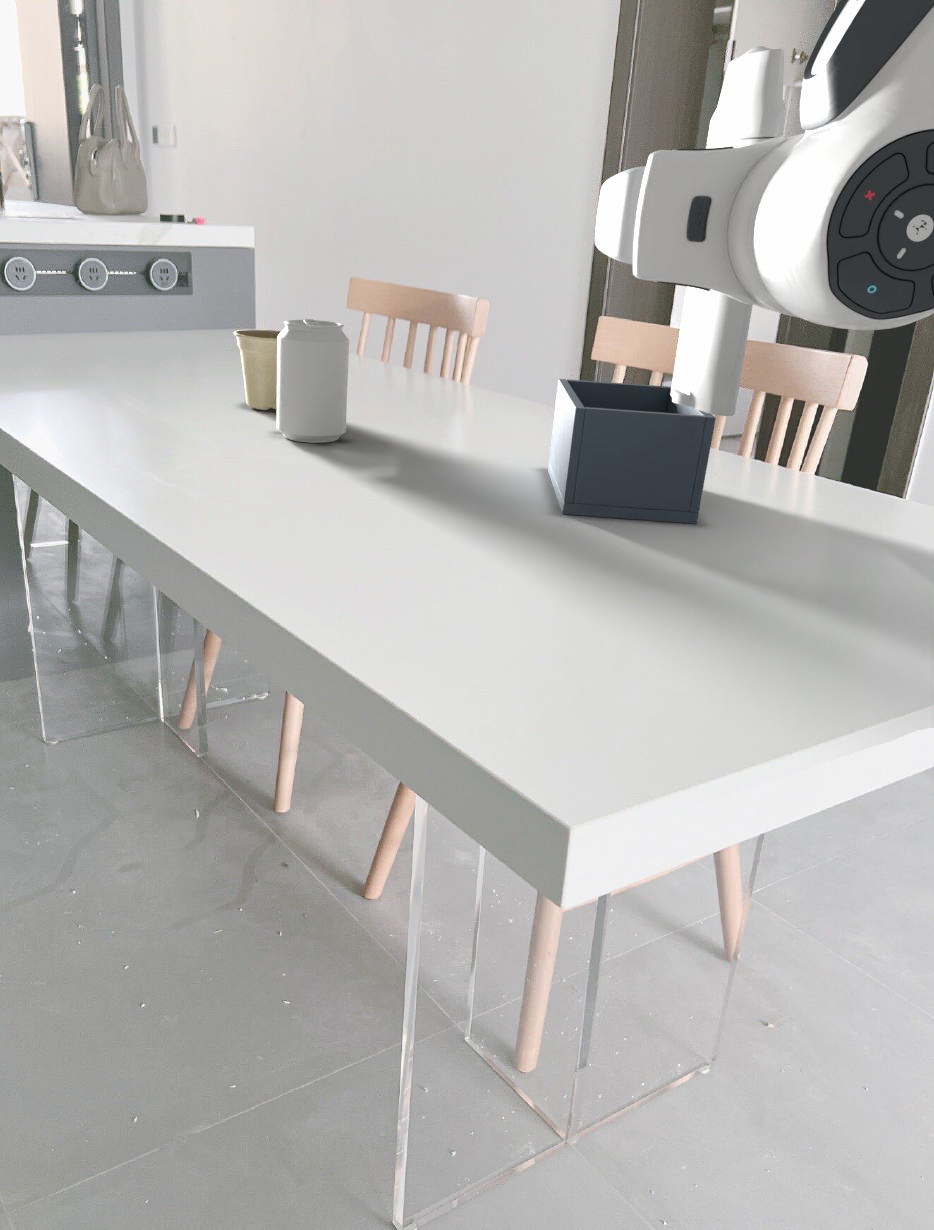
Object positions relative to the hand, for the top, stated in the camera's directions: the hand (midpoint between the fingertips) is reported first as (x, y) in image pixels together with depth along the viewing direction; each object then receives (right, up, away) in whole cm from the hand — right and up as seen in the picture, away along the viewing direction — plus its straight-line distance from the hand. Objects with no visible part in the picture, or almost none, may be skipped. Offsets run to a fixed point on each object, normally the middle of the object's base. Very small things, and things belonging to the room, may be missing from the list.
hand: (741, 224), depth 69 cm
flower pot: (-38, +5, +62) cm, 73 cm away
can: (-32, -2, +46) cm, 57 cm away
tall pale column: (-1, -10, +7) cm, 12 cm away
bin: (-2, -12, +30) cm, 33 cm away
